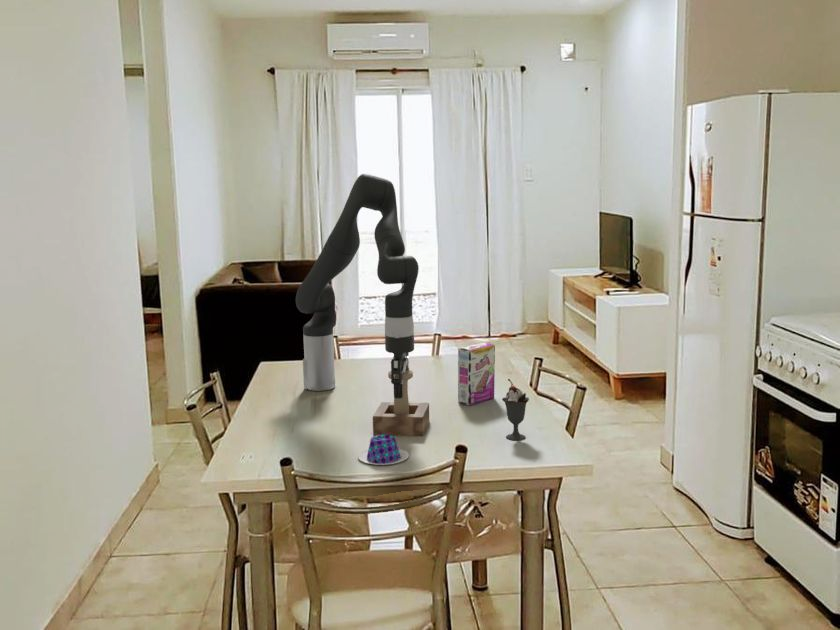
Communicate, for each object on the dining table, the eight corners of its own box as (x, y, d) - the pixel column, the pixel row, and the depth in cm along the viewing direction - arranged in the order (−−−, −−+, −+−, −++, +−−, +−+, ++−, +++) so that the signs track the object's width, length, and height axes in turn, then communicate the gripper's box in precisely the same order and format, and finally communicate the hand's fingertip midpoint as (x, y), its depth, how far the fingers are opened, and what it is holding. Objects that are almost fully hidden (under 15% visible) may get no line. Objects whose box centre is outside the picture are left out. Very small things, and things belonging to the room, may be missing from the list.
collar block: (373, 434, 217) (372, 416, 217) (382, 419, 230) (381, 402, 229) (423, 436, 216) (422, 417, 215) (429, 420, 228) (429, 403, 227)
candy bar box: (470, 406, 241) (469, 350, 238) (457, 403, 245) (456, 347, 242) (495, 398, 249) (495, 343, 246) (483, 395, 252) (482, 341, 250)
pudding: (392, 447, 209) (392, 426, 208) (418, 460, 199) (417, 439, 198) (349, 456, 202) (348, 435, 202) (373, 471, 192) (373, 449, 192)
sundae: (501, 433, 216) (501, 376, 214) (527, 433, 216) (527, 376, 213) (503, 441, 210) (502, 383, 207) (530, 441, 210) (530, 383, 207)
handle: (415, 429, 221) (413, 373, 218) (390, 431, 220) (389, 375, 218) (413, 424, 226) (411, 369, 223) (389, 425, 225) (387, 370, 222)
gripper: (389, 327, 226) (391, 386, 229) (380, 338, 212) (382, 400, 215) (417, 327, 225) (418, 386, 228) (409, 338, 211) (411, 401, 214)
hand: (400, 393), depth 221 cm, fingers open, 8 cm apart
